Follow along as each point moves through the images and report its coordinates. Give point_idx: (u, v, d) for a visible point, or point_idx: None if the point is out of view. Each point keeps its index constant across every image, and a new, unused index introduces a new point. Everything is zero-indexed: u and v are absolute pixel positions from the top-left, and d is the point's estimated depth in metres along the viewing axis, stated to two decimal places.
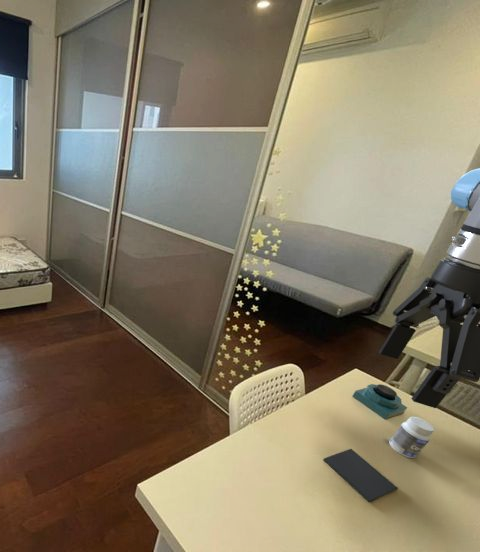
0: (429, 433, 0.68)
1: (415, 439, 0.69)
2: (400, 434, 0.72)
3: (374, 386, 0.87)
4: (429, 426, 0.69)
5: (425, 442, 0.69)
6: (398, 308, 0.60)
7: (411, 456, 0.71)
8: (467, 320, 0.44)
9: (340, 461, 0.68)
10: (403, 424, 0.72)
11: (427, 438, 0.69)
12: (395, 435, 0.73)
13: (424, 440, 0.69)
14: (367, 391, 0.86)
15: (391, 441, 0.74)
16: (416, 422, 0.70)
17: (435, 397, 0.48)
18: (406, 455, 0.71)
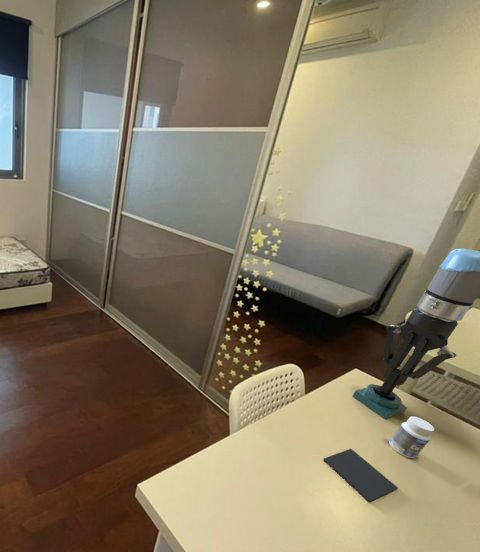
0: (429, 433, 0.68)
1: (415, 439, 0.69)
2: (400, 434, 0.72)
3: (374, 386, 0.87)
4: (429, 426, 0.69)
5: (425, 442, 0.69)
6: (385, 355, 0.83)
7: (411, 456, 0.71)
8: (440, 357, 0.73)
9: (340, 461, 0.68)
10: (403, 424, 0.72)
11: (427, 438, 0.69)
12: (395, 435, 0.73)
13: (424, 440, 0.69)
14: (367, 391, 0.86)
15: (391, 441, 0.74)
16: (416, 422, 0.70)
17: (393, 387, 0.83)
18: (406, 455, 0.71)
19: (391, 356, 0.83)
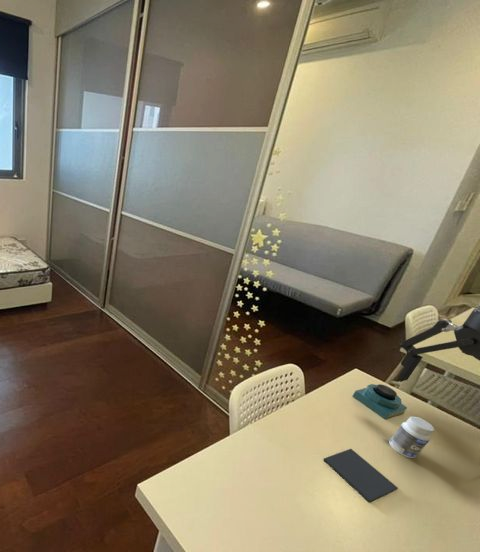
0: (429, 433, 0.68)
1: (415, 439, 0.69)
2: (400, 434, 0.72)
3: (374, 386, 0.87)
4: (429, 426, 0.69)
5: (425, 442, 0.69)
6: (407, 342, 0.71)
7: (411, 456, 0.71)
8: None
9: (340, 461, 0.68)
10: (403, 424, 0.72)
11: (427, 438, 0.69)
12: (395, 435, 0.73)
13: (424, 440, 0.69)
14: (367, 391, 0.86)
15: (391, 441, 0.74)
16: (416, 422, 0.70)
17: None
18: (406, 455, 0.71)
19: (413, 343, 0.71)
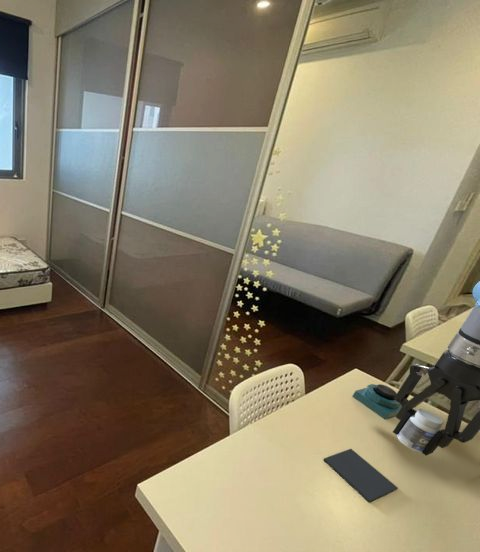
0: (438, 426, 0.67)
1: (424, 432, 0.68)
2: (408, 427, 0.71)
3: (374, 386, 0.87)
4: (438, 419, 0.68)
5: (434, 435, 0.68)
6: (399, 395, 0.73)
7: (420, 450, 0.70)
8: None
9: (340, 461, 0.68)
10: (411, 417, 0.71)
11: (436, 431, 0.68)
12: (403, 429, 0.72)
13: (433, 433, 0.68)
14: (367, 391, 0.86)
15: (399, 435, 0.73)
16: (424, 415, 0.69)
17: (435, 447, 0.69)
18: (415, 449, 0.70)
19: (406, 395, 0.73)
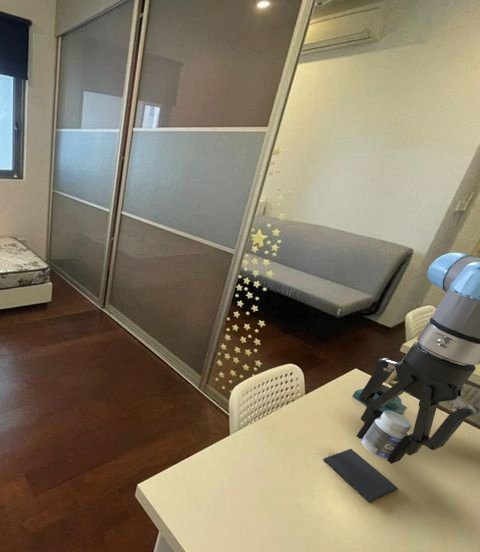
0: (405, 430, 0.58)
1: (390, 437, 0.59)
2: (373, 431, 0.61)
3: None
4: (405, 422, 0.59)
5: (401, 440, 0.59)
6: (364, 394, 0.63)
7: (385, 457, 0.60)
8: (457, 415, 0.52)
9: (340, 461, 0.68)
10: (376, 419, 0.62)
11: (403, 435, 0.58)
12: (367, 432, 0.63)
13: (399, 438, 0.58)
14: None
15: (363, 439, 0.63)
16: (391, 417, 0.60)
17: (402, 455, 0.60)
18: (379, 456, 0.61)
19: (372, 395, 0.64)
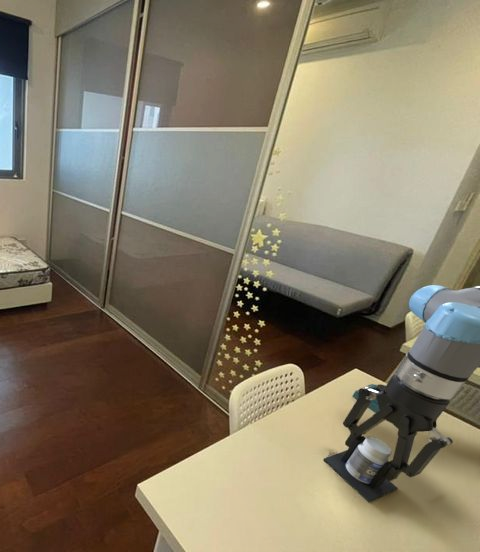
0: (386, 457, 0.61)
1: (371, 463, 0.62)
2: (356, 456, 0.64)
3: (374, 386, 0.87)
4: (386, 449, 0.62)
5: (382, 466, 0.62)
6: (348, 420, 0.66)
7: (367, 481, 0.63)
8: (432, 446, 0.55)
9: (340, 461, 0.68)
10: (359, 445, 0.65)
11: (383, 462, 0.61)
12: (351, 457, 0.66)
13: (380, 464, 0.61)
14: None
15: (347, 464, 0.66)
16: (372, 444, 0.63)
17: (383, 479, 0.63)
18: (362, 480, 0.64)
19: (356, 420, 0.67)
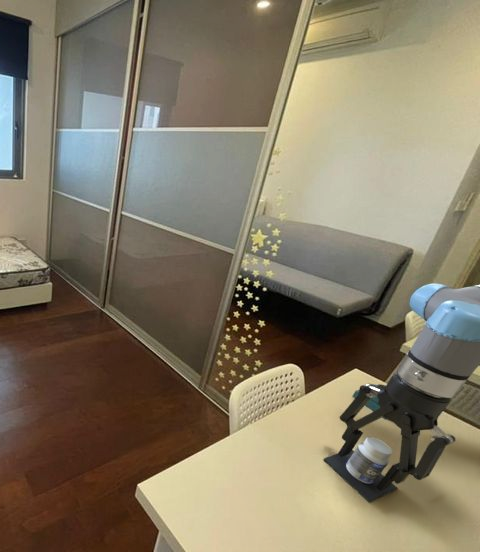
0: (386, 457, 0.61)
1: (372, 463, 0.62)
2: (356, 456, 0.64)
3: (374, 386, 0.87)
4: (387, 449, 0.62)
5: (382, 466, 0.62)
6: (345, 415, 0.67)
7: (368, 481, 0.63)
8: (436, 444, 0.54)
9: (340, 461, 0.68)
10: (360, 445, 0.65)
11: (384, 462, 0.61)
12: (351, 457, 0.66)
13: (381, 464, 0.61)
14: None
15: (347, 464, 0.66)
16: (373, 444, 0.63)
17: (390, 482, 0.62)
18: (362, 480, 0.64)
19: (353, 415, 0.67)
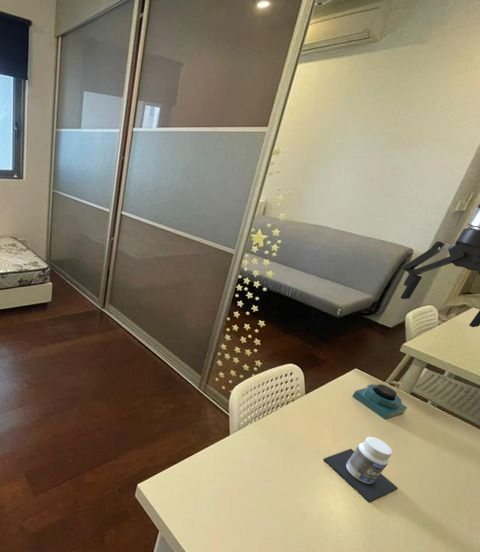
0: (386, 457, 0.61)
1: (372, 463, 0.62)
2: (356, 456, 0.64)
3: (374, 386, 0.87)
4: (387, 449, 0.62)
5: (382, 466, 0.62)
6: (409, 264, 0.84)
7: (368, 481, 0.63)
8: None
9: (340, 461, 0.68)
10: (360, 445, 0.65)
11: (384, 462, 0.61)
12: (351, 457, 0.66)
13: (381, 464, 0.61)
14: (367, 391, 0.86)
15: (347, 464, 0.66)
16: (373, 444, 0.63)
17: None
18: (362, 480, 0.64)
19: (414, 266, 0.85)
